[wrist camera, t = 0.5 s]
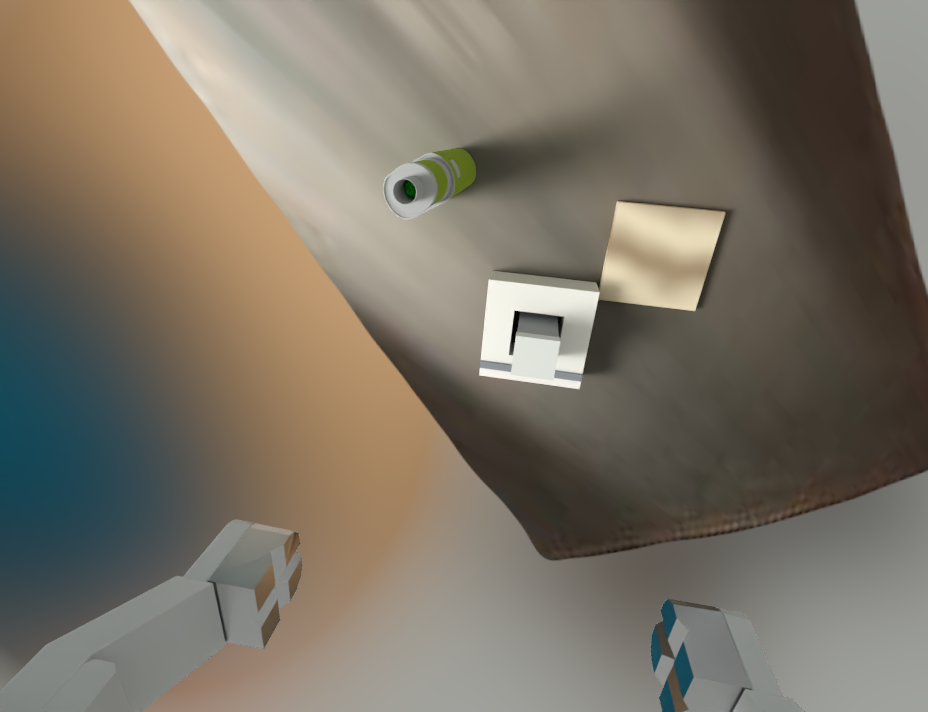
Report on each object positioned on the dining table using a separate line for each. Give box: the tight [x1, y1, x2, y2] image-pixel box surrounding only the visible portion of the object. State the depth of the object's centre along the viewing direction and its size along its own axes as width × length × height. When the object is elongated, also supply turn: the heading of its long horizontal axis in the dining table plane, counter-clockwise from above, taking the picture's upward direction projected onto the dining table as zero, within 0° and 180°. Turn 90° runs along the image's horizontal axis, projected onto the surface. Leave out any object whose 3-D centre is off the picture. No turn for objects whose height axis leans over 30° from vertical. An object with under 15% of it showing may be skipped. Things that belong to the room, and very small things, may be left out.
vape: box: [383, 148, 476, 220], centre depth 38 cm, size 4×6×20 cm, turn 116°
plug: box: [511, 311, 560, 380], centre depth 49 cm, size 4×4×9 cm
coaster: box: [598, 201, 726, 311], centre depth 47 cm, size 10×10×1 cm
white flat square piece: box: [479, 271, 600, 389], centre depth 51 cm, size 11×11×4 cm
